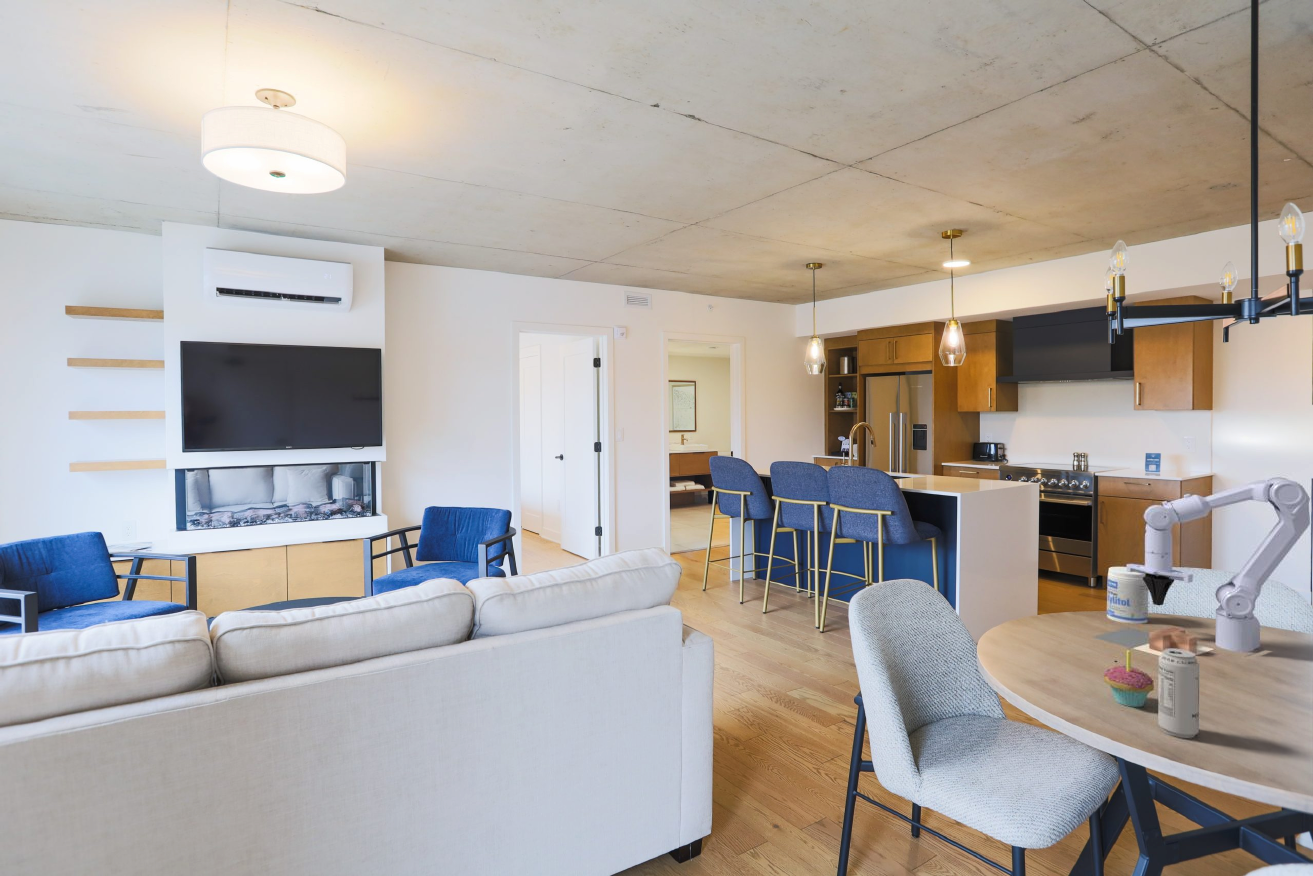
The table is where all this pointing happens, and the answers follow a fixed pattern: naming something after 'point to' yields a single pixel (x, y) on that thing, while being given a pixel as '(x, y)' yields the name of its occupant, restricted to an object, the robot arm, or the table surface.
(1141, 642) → the board
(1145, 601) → the supplement tub
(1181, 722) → the energy drink can
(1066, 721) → the table surface
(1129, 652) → the cupcake
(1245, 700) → the table surface
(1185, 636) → the t block
